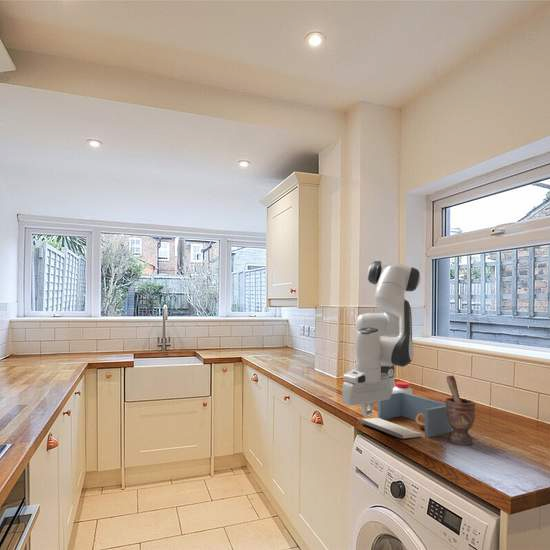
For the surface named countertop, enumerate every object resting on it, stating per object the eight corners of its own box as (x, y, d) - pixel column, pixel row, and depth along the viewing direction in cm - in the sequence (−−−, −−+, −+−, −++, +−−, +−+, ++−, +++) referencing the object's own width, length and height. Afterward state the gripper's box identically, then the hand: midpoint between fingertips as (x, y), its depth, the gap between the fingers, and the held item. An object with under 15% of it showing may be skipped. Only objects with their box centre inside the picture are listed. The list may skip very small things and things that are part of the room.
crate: (377, 419, 150) (377, 395, 150) (401, 414, 157) (401, 391, 157) (427, 437, 131) (427, 410, 131) (452, 431, 137) (452, 405, 138)
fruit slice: (443, 432, 136) (443, 417, 137) (428, 434, 134) (428, 419, 134) (425, 425, 144) (425, 411, 145) (411, 426, 142) (411, 412, 142)
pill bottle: (413, 409, 165) (413, 382, 166) (409, 413, 158) (409, 385, 159) (395, 406, 169) (395, 380, 170) (390, 410, 162) (390, 383, 163)
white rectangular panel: (378, 420, 148) (359, 421, 143) (378, 417, 148) (359, 419, 143) (421, 436, 131) (401, 438, 127) (421, 433, 131) (401, 435, 127)
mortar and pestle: (433, 435, 133) (433, 375, 134) (452, 432, 136) (452, 374, 138) (460, 447, 122) (460, 382, 124) (481, 444, 126) (480, 381, 127)
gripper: (382, 370, 146) (381, 408, 145) (339, 375, 135) (338, 416, 135) (395, 373, 140) (395, 413, 140) (351, 379, 130) (351, 421, 129)
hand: (367, 414), depth 137 cm, fingers closed
